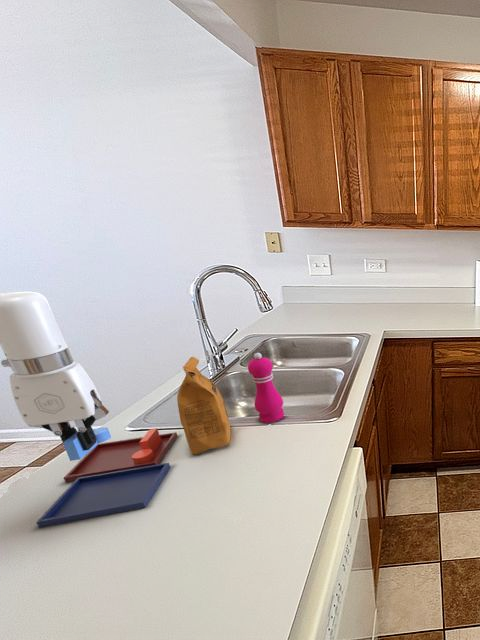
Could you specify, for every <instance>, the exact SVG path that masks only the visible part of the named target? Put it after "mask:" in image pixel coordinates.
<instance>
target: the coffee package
mask: <svg viewBox="0 0 480 640" xmlns="http://www.w3.org/2000/svg"><path fill="white" fill-rule="evenodd" d="M199 363H200V360H199V358H196V356H191V357H189V359H188V360H187V361H186V363H185V364H184V365H183V366H182V369H183V371H184V374H185V376H184V379H183V381H182V382H181V385H180V386H179V388H178V391H177V397H176V398H177V399H176V400H177V401H176V402H177V408H178V415H179V420H180V424H181V426H182V429H183V432H184V435H185V438H186V441H187V445H188V448H189V451H190V453H191V454H192V455H199V454H200V453H203V452H206V451H208V450H211V449H218V448H221V447H224V446H227V445H228V444H230V442H231V424H230V419H229V414H228V411H227V408H226V404H225V401H224V399H223V396H222V394H221V392H220V390H219V389H218V387H217V385H216V384H215V383H214V382H213V381H212V380H211V379H210V378H208V377H207V376H205V375H203V374H202V373H201V371H200V370H199V369H198V368H197V366H198V365H199Z"/></svg>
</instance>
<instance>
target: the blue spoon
mask: <svg viewBox="0 0 480 640" xmlns="http://www.w3.org/2000/svg"><path fill="white" fill-rule="evenodd" d="M92 429H93V431H94V434H95V436H96V438H97V440H96V443H95V444H94V445H93V446H92V447H91V448H90V449H89V450H84V449H83V447H82V445H81V443H80V441H79V439H78V437H77V435H76V434H77V433H78V432H79V431H78V430H77V432H76V433H75V434H74V435H72V436H71V437H70V438H68V439H67V440H66V441H64V442H62V445H63V447H64V449H65V451H66V454H67V456H68V459H69V461H70V462H73V461H78V460H79V461H80V460H81V459H82V458H83V457H84V456H85V455H86V454H87V453H88V452H90V451H91V450H92V449H93V448H94V447H95V446H96V445H98V444H100V443H105V442H106V441H107V442H108V441H109V440H110V439H111V438H112V434H111V433H110V430H109V427H104V426H102V427H97V428H92Z"/></svg>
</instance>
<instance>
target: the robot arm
mask: <svg viewBox="0 0 480 640" xmlns="http://www.w3.org/2000/svg"><path fill="white" fill-rule="evenodd" d="M0 348H1V349H2V352H3V353H4V356H5V358H6V359H5V358H4V359H2V360H1V363H0V364H1V366H2V367H4V368H8V367H9V368H11V370H12V372H13V373H11V374H10V375H9V384H10V389H11V393H12V396H13V400H14V402H15V405H16V408H17V410H18V412H19V415H20V416H21V419H22V420H23V422H24V423H26V424H27V426H28V427H31V428H39V429H41V428H43V429H44V430H46V431H49V432H52V434H54V436H56V437H59V438H60V439H61V442H62V443H63V442H64V441H66V440H67V439H68V438H70V437H71V436H72V435H74V434H75V433H76V432H78V431H79V432H78V433H77V434H76V435H77V437H78V439H79V441H80V443H81V445H82V447H83V449H84V450H89V449H90V448H91V447H92V446H93V445H94V444H95V443H96V440H97V438H96V436H95V434H94V431H93V429H94V428H93V427H92V426H93V425H94V423H95V422H96V421H98V420H101V419H102V418H104V417H106V416H107V415H108V414H109V413H110V410H108V408H106V407H105V406H104V405H103V400H102V398H101V395H100V393H99V392H98V389H97V387H96V385H95V383H94V382H93V381H92V379H91V377H90V376H89V374H88V372H87V370H85V369H84V367H83V365H81V363H79V362H75V360H74V357H73V356H72V354H71V351H70V349H69V347H68V345H67V342H66V340H65V338H64V336H63V333H62V330H61V329H60V327H59V324H58V322H57V320H56V317H55V315H54V313H53V310H52V308H51V306H50V304H49V301H48V300H47V298H46V297H45V296H44V295H43V294H42V293H39V292H36V291H13V292H6V293H5V292H0ZM70 422H74V424H75V426H76V427H75V426H71V423H70Z"/></svg>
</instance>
